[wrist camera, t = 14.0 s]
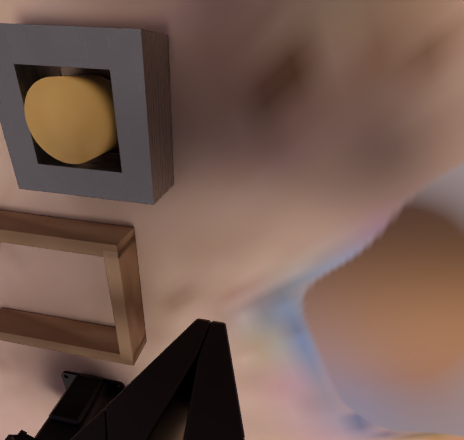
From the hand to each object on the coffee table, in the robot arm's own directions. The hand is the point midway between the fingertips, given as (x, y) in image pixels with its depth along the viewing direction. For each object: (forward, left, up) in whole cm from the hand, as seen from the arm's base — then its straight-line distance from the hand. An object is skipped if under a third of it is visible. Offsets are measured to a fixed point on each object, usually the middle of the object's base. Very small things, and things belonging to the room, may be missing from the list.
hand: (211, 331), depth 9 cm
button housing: (+4, +9, -11) cm, 15 cm away
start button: (+4, +9, -10) cm, 14 cm away
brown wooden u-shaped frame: (-9, +18, -11) cm, 23 cm away
